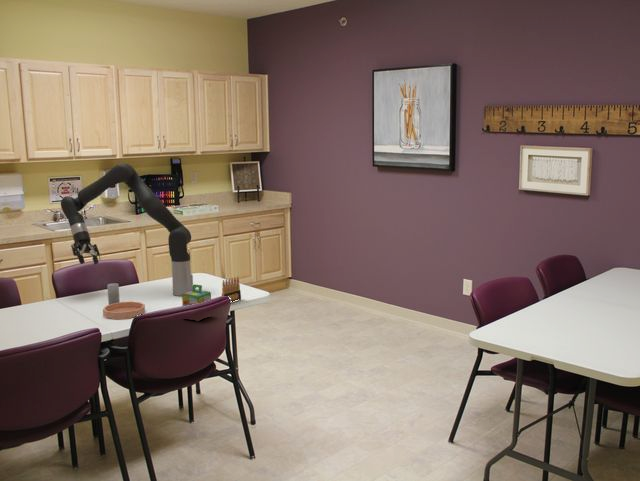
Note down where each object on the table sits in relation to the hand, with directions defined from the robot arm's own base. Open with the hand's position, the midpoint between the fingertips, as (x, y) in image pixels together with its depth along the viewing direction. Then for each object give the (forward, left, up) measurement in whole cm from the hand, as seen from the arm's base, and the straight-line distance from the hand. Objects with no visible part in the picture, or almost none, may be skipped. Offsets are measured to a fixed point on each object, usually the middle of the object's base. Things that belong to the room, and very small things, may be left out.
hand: (89, 263), depth 303 cm
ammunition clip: (-47, +52, -18) cm, 72 cm away
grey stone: (-3, +19, -18) cm, 26 cm away
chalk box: (-22, +64, -18) cm, 70 cm away
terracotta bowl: (-1, +35, -18) cm, 39 cm away
